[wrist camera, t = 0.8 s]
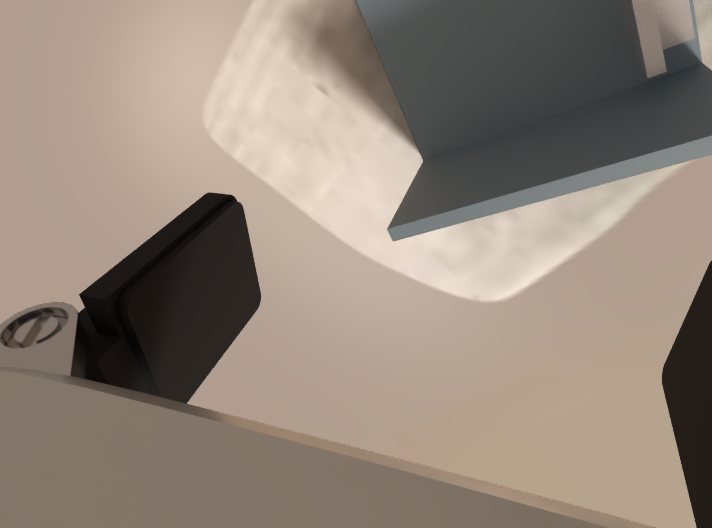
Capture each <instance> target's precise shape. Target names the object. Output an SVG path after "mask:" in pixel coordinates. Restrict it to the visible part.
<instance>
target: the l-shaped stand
mask: <svg viewBox="0 0 712 528" xmlns="http://www.w3.org/2000/svg"><path fill="white" fill-rule="evenodd" d="M356 2H357V4H358V7H359V9H360V11H361V14H362V16H363V18H364V21H365V23H366V26H367V28H368V30H369V33H370V35H371V38H372V40H373V42H374V45H375V47H376V49H377V52H378V54H379V57H380V59H381V61H382V64H383V66H384V68H385V71H386V73H387V76H388V78H389V80H390V83H391V85H392V88H393V90H394V92H395V95H396V97H397V99H398V102H399V104H400V107H401V109H402V111H403V114H404V116H405V118H406V121H407V123H408V126H409V128H410V130H411V133H412V135H413V138H414V140H415V142H416V145H417V147H418V149H419V152H420V154H421V157H422V159H423V163H422V165H421V167H420V168H419V170H418V172H417V174H416V176H415V178H414V180H413V182H412V183H411V185H410V187H409V189H408V191H407V193H406V195H405V197H404V198H403V200H402V202H401V204H400V206H399V208H398V210H397V212H396V213H395V215H394V217H393V219H392V221H391V223H390V225H389V227H388V228H387V230H388V232H389V234H390V236H391V238H392V240H393V241H397V240H400V239H404V238H408V237H411V236H415V235H419V234H422V233H426V232H430V231H433V230H437V229H441V228H444V227H448V226H452V225H455V224H459V223H463V222H466V221H470V220H474V219H477V218H481V217H485V216H488V215H492V214H496V213H499V212H503V211H507V210H510V209H514V208H518V207H521V206H525V205H529V204H532V203H536V202H539V201H543V200H547V199H550V198H554V197H558V196H561V195H565V194H569V193H572V192H576V191H580V190H583V189H587V188H591V187H594V186H598V185H602V184H605V183H609V182H613V181H616V180H620V179H624V178H627V177H631V176H635V175H638V174H642V173H646V172H649V171H653V170H657V169H660V168H664V167H668V166H671V165H675V164H679V163H682V162H686V161H690V160H693V159H697V158H701V157H704V156H708V155H712V71H711V70H710V69H709V68H708V67H706V66H705V65H704V64H703V63H702V58H701V52H700V45H699V39H698V32H697V26H696V19H695V13H694V6H693V0H689V4H690V10H691V17H692V23H693V29H694V36H695V38H694V39H691V40H689V41H686V42H683V43H681V44H678V45H675V46H673V47H670V48H667V49H665V50H663V54H664V60H665V65H666V70H667V72H664V73H662V74H659V75H656V76H653V77H650V78H647V77H646V75H645V74H644V73H643V71H642V70H641V68H640V67H639V65H638V64H637V63H636V61H635V60H634V56H633V51H632V47H631V42H630V37H629V32H628V28H627V23H626V18H625V13H624V9H623V4H622V0H356Z"/></svg>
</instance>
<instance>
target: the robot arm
mask: <svg viewBox="0 0 712 528" xmlns="http://www.w3.org/2000/svg"><path fill="white" fill-rule="evenodd" d="M79 295H80V297H81V300H82V302H83V304H84V306H85V308H84V309H83V310H82V311H80V312H79V313H78V312H77V310H76V309H75V308H74V307H73V306H72V305H70V304H67V303H64V302H51V303H45V304H40V305H36V306H33V307H30V308H27V309H25V310H23V311H21V312H19V313H17V314H15V315H14V316H12V317H10V318H9V319H7V320H6V321H4V322H3V323H2V324H1V325H0V528H655V527H652V526H648V525H644V524H641V523H637V522H634V521H630V520H627V519H623V518H620V517H616V516H612V515H609V514H605V513H602V512H598V511H594V510H590V509H587V508H583V507H579V506H575V505H572V504H568V503H564V502H560V501H556V500H553V499H549V498H545V497H541V496H538V495H534V494H530V493H526V492H522V491H518V490H515V489H511V488H508V487H504V486H500V485H496V484H493V483H489V482H485V481H481V480H477V479H474V478H470V477H466V476H462V475H459V474H455V473H451V472H447V471H443V470H440V469H436V468H433V467H429V466H425V465H421V464H417V463H413V462H410V461H405V460H402V459H398V458H394V457H390V456H387V455H382V454H379V453H375V452H371V451H367V450H364V449H360V448H356V447H352V446H348V445H345V444H341V443H336V442H333V441H329V440H325V439H321V438H318V437H314V436H309V435H306V434H302V433H298V432H295V431H291V430H287V429H283V428H279V427H275V426H271V425H268V424H264V423H259V422H256V421H252V420H248V419H244V418H240V417H236V416H232V415H228V414H224V413H220V412H216V411H213V410H209V409H205V408H201V407H197V406H193V405H189V404H187V402H188V401H189V400H190V398H191V397H192V396H193V394H194V393H195V391H196V390H197V389H198V388H199V386H200V385H201V384H202V382H203V381H204V380H205V378H206V377H207V376H208V374H209V373H210V372H211V370H212V369H213V368H214V366H215V365H216V364H217V362H218V361H219V360H220V358H221V357H222V356H223V354H224V353H225V352H226V350H227V349H228V348H229V346H230V345H231V344H232V342H233V341H234V340H235V338H236V337H237V336H238V334H239V333H240V332H241V330H242V329H243V328H244V326H245V325H246V324H247V322H248V321H249V320H250V319H251V317H252V316H253V315H254V313H255V312H256V311H257V309H258V307H259V305H260V301H261V292H260V287H259V283H258V277H257V273H256V268H255V263H254V258H253V253H252V248H251V243H250V238H249V234H248V228H247V224H246V219H245V214H244V209H243V206H242V204H241V203H239V202H237V200H236V198H235V197H234V196H232V195H226V194H218V193H207V194H205V195H204V196H203V197H201V198H200V199H199V200H197V201H196V202H195V203H194V204H192V205H191V206H190V207H189V208H187V209H186V210H185V211H184V212H182V213H181V214H180V215H179V216H177V217H176V218H175V219H174V220H172V221H171V222H170V223H169V224H167V225H166V226H165V227H164V228H162V229H161V230H160V231H158V232H157V233H156V234H155V235H153V236H152V237H151V238H150V239H148V240H147V241H146V242H145V243H143V244H142V245H141V246H140V247H138V248H137V249H136V250H134V251H133V252H132V253H131V254H130V255H128V256H127V257H126V258H124V259H123V260H122V261H121V262H119V263H118V264H117V265H116V266H114V267H113V268H112V269H111V270H109V271H108V272H107V273H106V274H104V275H103V276H102V277H101V278H99V279H98V280H97V281H95V282H94V283H93V284H92V285H90V286H89V287H88V288H87V289H86V290H84V291H83V292H82V293H80V294H79ZM662 385H663V389H664V393H665V398H666V402H667V406H668V410H669V414H670V418H671V422H672V427H673V431H674V435H675V439H676V443H677V447H678V451H679V456H680V460H681V464H682V468H683V472H684V477H685V480H686V485H687V489H688V493H689V497H690V502H691V506H692V510H693V514H694V518H695V522H696V526H697V528H712V261H711V262H710V264H709V266H708V268H707V270H706V273H705V275H704V277H703V279H702V282H701V284H700V286H699V288H698V290H697V293H696V295H695V297H694V299H693V302H692V304H691V306H690V309H689V311H688V313H687V315H686V317H685V319H684V322H683V324H682V326H681V328H680V331H679V333H678V335H677V337H676V340H675V342H674V344H673V346H672V349H671V351H670V353H669V356H668V357H667V360H666V362H665V364H664V367H663V373H662Z"/></svg>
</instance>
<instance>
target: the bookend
mask: <svg viewBox="0 0 712 528" xmlns="http://www.w3.org/2000/svg"><path fill="white" fill-rule="evenodd" d="M622 4H623V9H624V13H625V18H626V23H627V28H628V32H629V37H630V42H631V47H632V51H633V56H634V60H635V61H636V63H637V64H638V65H639V67H640V68H641V70H642V71H643V73H644V74H645V75H646V77H647V78H650V77H653V76H656V75H659V74H662V73H664V72H667V70H666V65H665V60H664V54H663V50H665V49H667V48H670V47H673V46H675V45H678V44H681V43H683V42H686V41H689V40H691V39H694V38H695V36H694V29H693V23H692V17H691V10H690V4H689V0H622Z"/></svg>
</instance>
